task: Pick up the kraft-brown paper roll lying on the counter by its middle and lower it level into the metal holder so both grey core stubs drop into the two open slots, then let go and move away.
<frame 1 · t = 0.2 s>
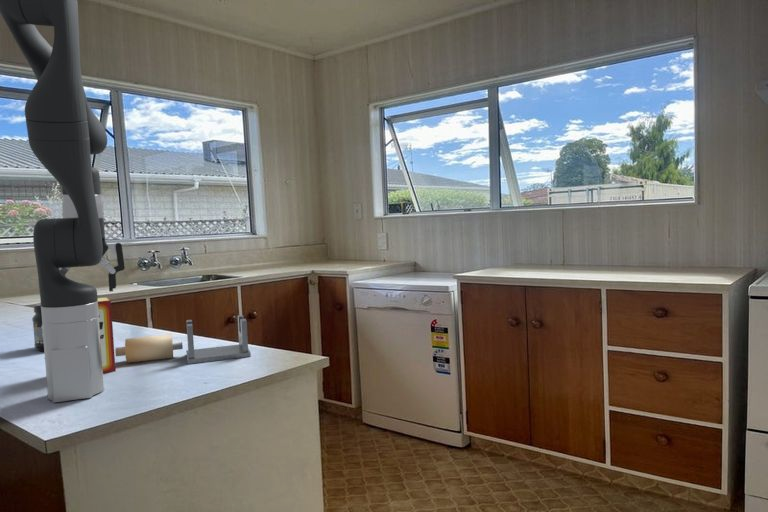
hand: (88, 292, 114), 18 cm above the countertop, tool pointing down, fingers open, 8 cm apart
roll holder: (218, 355, 128), on the countertop
baking soda box: (90, 372, 118), on the countertop
supplement container: (58, 348, 144), on the countertop
paper roll: (150, 360, 126), on the countertop
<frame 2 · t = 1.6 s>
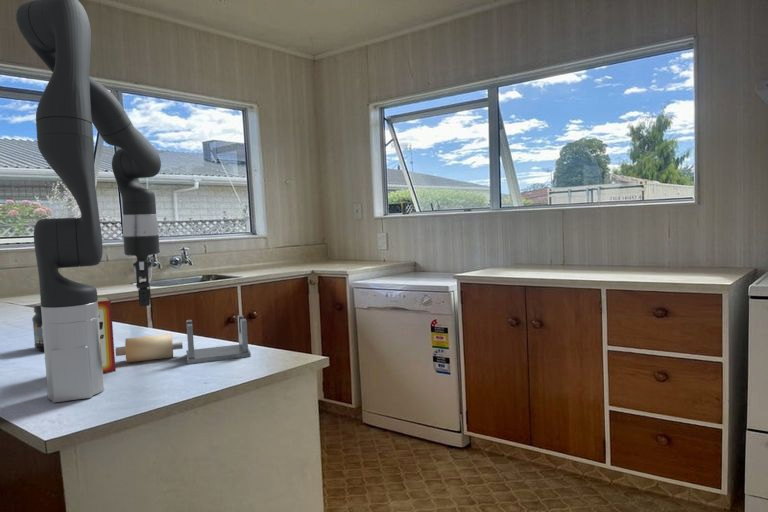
hand: (145, 303, 126), 13 cm above the countertop, tool pointing down, fingers open, 8 cm apart
paper roll: (150, 360, 126), on the countertop, tilted 9°
everything else where it was.
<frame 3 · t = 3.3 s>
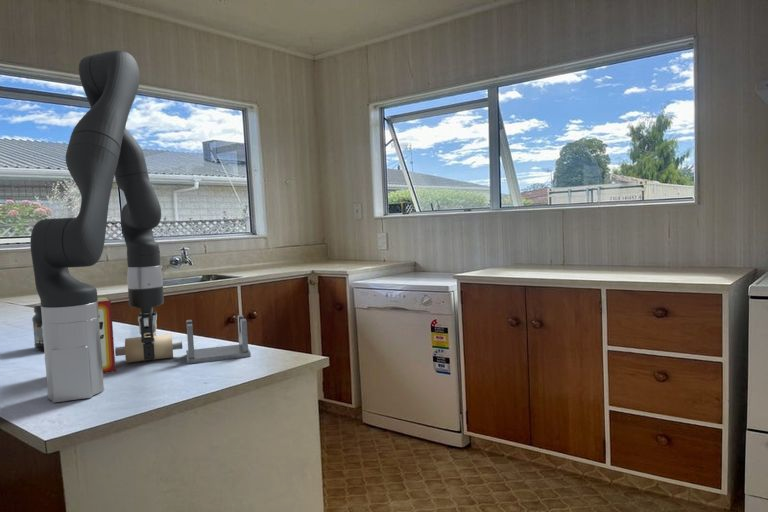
hand: (150, 356, 126), 1 cm above the countertop, tool pointing down, fingers closed on paper roll, 5 cm apart
paper roll: (150, 359, 126), on the countertop, touching gripper
everything else where it was.
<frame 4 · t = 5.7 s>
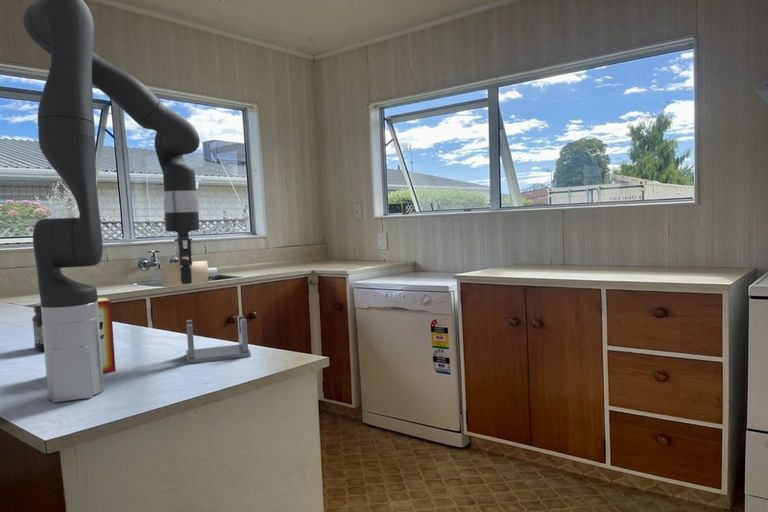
hand: (185, 282, 127), 18 cm above the countertop, tool pointing down, fingers closed on paper roll, 5 cm apart
paper roll: (185, 285, 127), point 17 cm above the countertop, touching gripper
everything else where it was.
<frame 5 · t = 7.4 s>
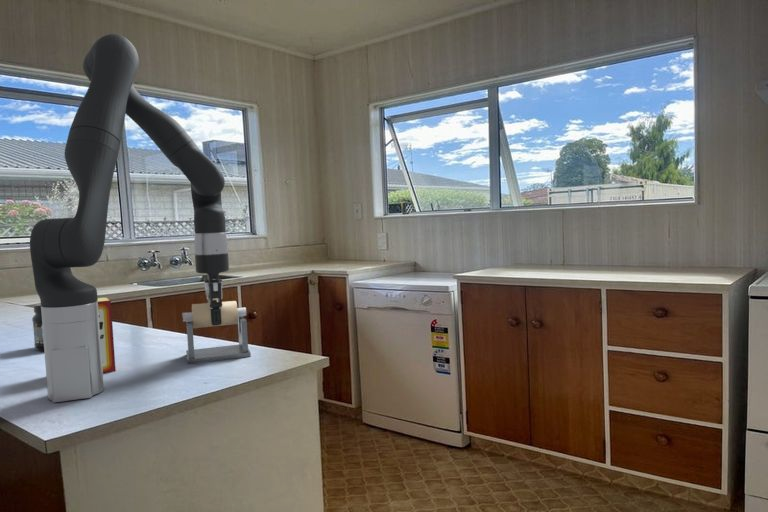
hand: (215, 322, 128), 8 cm above the countertop, tool pointing down, fingers closed on paper roll, 5 cm apart
paper roll: (215, 326, 128), point 7 cm above the countertop, touching gripper
everything else where it was.
when the fingers open (5 cm above the countertop, at t = 8.4 s): paper roll stays where it is, resting on roll holder.
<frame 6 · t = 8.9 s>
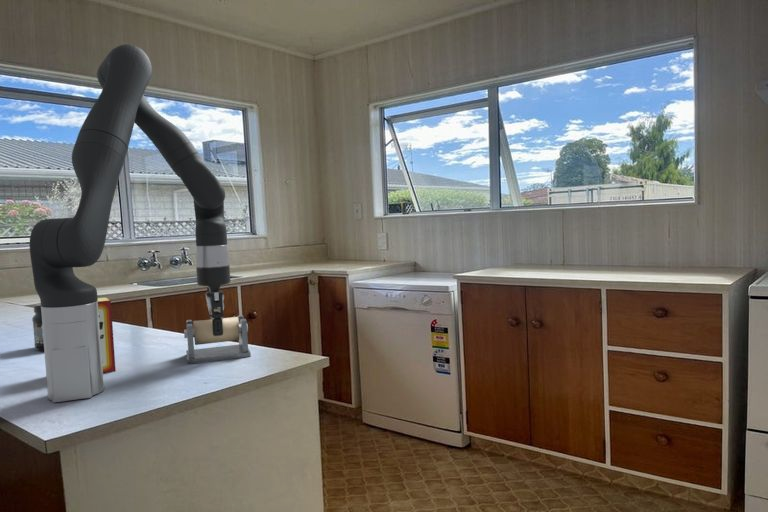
hand: (216, 332, 128), 6 cm above the countertop, tool pointing down, fingers open, 8 cm apart
paper roll: (217, 342, 128), point 3 cm above the countertop, touching roll holder
everything else where it was.
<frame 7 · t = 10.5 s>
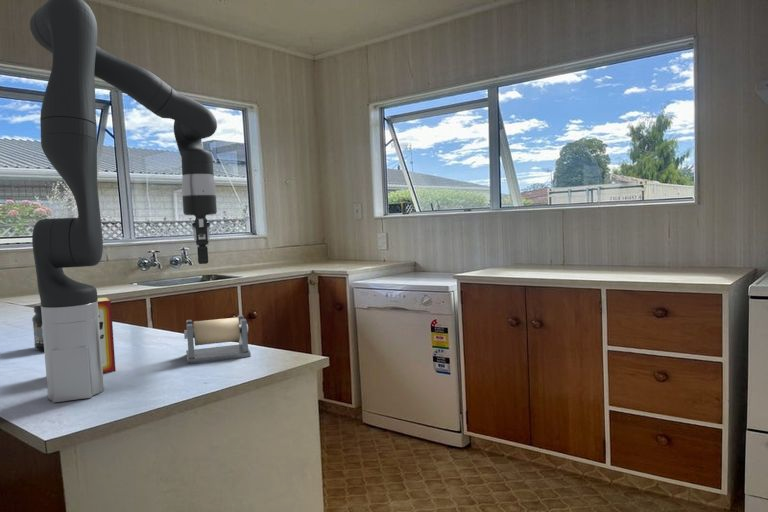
hand: (203, 262, 128), 22 cm above the countertop, tool pointing down, fingers open, 8 cm apart
paper roll: (216, 338, 129), point 4 cm above the countertop, tilted 42°, touching roll holder
everything else where it was.
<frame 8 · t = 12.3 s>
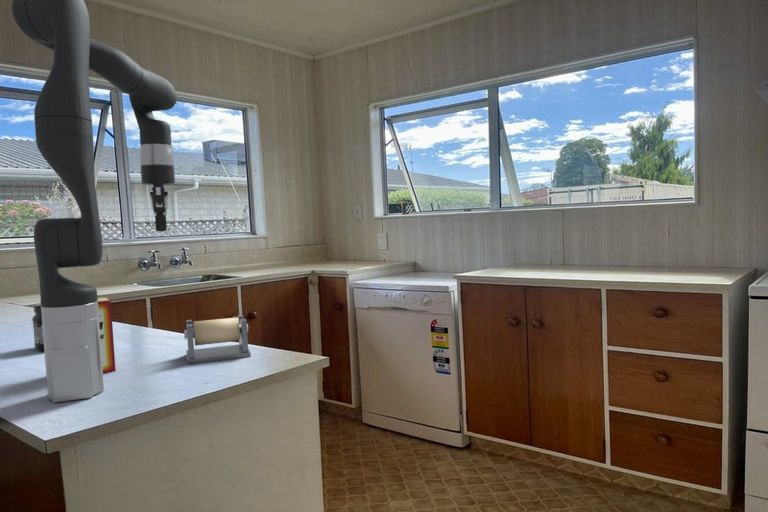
hand: (161, 231, 132), 30 cm above the countertop, tool pointing down, fingers open, 8 cm apart
nothing on the countertop moved.
at the end: paper roll 1.1 cm off-centre on the roll holder, point 3.9 cm above the roll holder's base; the gripper is holding nothing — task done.
